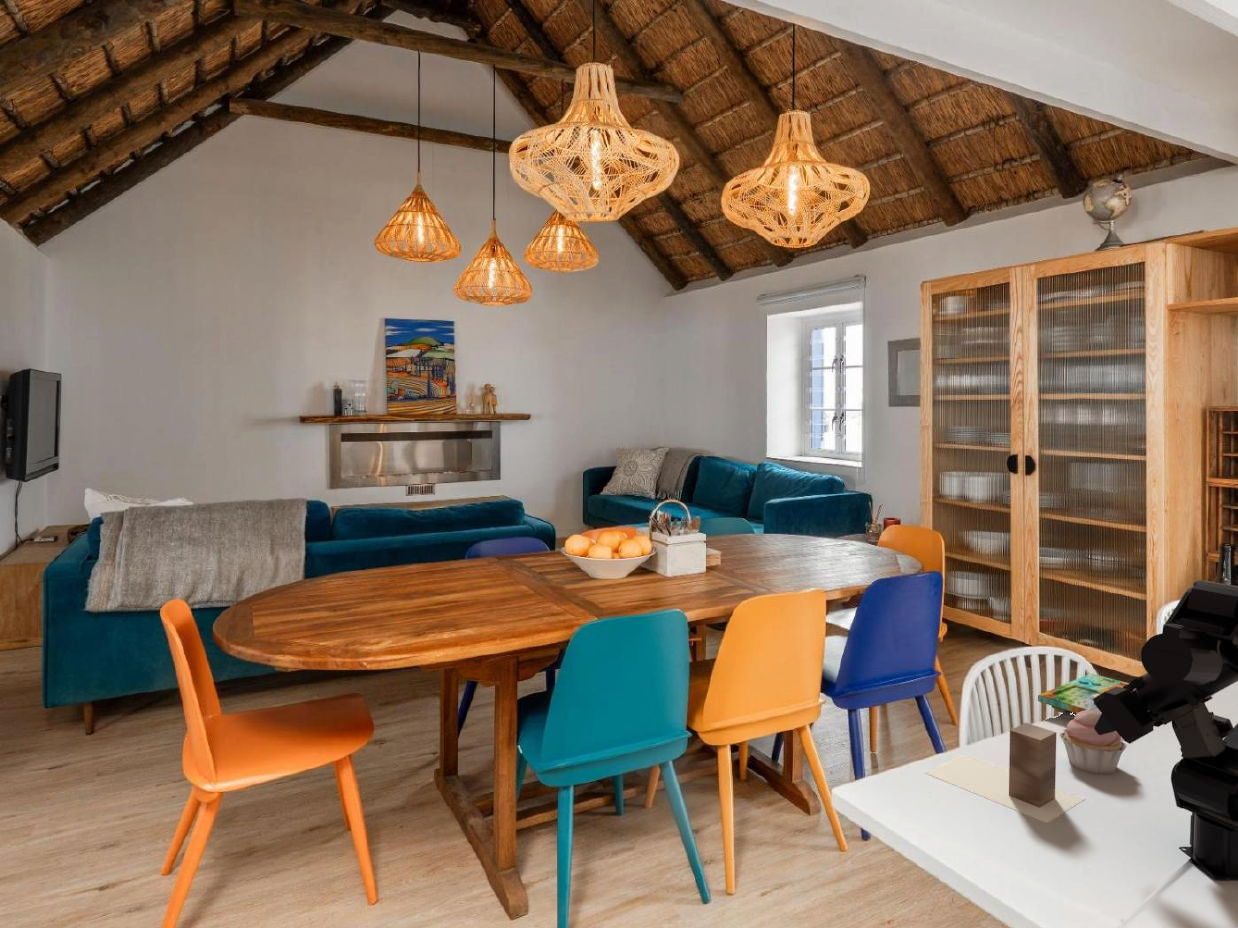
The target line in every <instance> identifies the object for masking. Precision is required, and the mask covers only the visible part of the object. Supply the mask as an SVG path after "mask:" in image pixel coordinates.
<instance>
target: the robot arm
mask: <svg viewBox="0 0 1238 928" xmlns="http://www.w3.org/2000/svg"><path fill="white" fill-rule="evenodd" d="M1161 632H1162V633H1158V634H1155V635H1153V636H1151V637H1149V638H1148V639H1147V640H1146V642H1145V643H1144V645H1143V646H1142V648H1141V650H1140V659H1141V663H1142V666H1143V668H1144V670H1145V671H1146V673H1144V674H1142V675H1141V676H1138V677H1136V678H1134V679H1133V680H1131V681H1130V682H1129V684H1127V685H1125V686H1123V688H1120V687H1114V688H1112V689H1109V690H1107V691H1105V692H1103V693H1102V694H1100V695H1098V696H1097V697H1095V698H1094V699H1093V701H1094V704H1095V705H1096V707H1097V708H1098V709H1099V710H1100V712H1101V713H1102V714H1101V715H1100V717H1099V719H1098V721H1097V723H1096V725H1095V727H1094V729H1095V731H1096V732H1097V733H1098V734H1099V735H1103V734H1107V733H1110V732H1114V731H1117V733H1118V734H1119V735H1120V738H1122V739H1123V742H1124V743H1126V744H1129V745H1130V744H1132V743H1134V742H1136V741H1137V740H1139V739H1141V738H1143V737H1145V736H1147V735H1148V734H1150V733H1152V732H1154V730H1155V729H1154V727H1157V728H1159V727H1161V726H1163V725H1164V726H1165V725H1168V724H1169V723H1171V726H1172V730H1173V732H1174V734H1175V737H1176V739H1177V741H1178V743H1179V745H1180V748H1179V749H1180V752H1181V759H1180V760H1179V761H1177V762H1176V763H1175V764H1174V766H1173V767H1172V769H1171V773H1170V774H1171V775H1170V782H1171V787H1172V791H1173V796H1174V801H1175V805H1176V807H1177V808H1179V809H1184V810H1185V811H1188V812H1191V815H1190V831H1189V846H1179V848H1178V850H1180V851H1181V852H1182V853H1184V855H1187V857H1189V859H1188V860H1189V861H1191V863H1193V864H1194V865H1196V866H1197V867H1198V868H1199V869H1200V870H1202V871H1203V872H1205V873H1206V874H1207V875H1209V876H1210V878H1212V879H1214V880H1221V881H1222V880H1238V722H1237V724H1236V725H1234V726H1233V723H1232V722H1231V720H1230V718H1226V717H1223V716H1219V715H1216V714H1215V713H1214V712H1213V711H1209V709H1208V707H1207V705H1206V703H1207V702H1209V701H1210V700H1212V699H1213V696H1214V695H1215V694H1218V693H1219V692H1221V691H1223V690H1224V689H1226V688H1228V687H1230V686H1231V685H1234V684H1235V683H1237V682H1238V586H1237V585H1232V584H1228V583H1222V582H1216V581H1210V580H1203V579H1199V580H1196V581H1195V582H1193V584H1192V587H1191V586H1190V588H1188V589H1187V590H1186V591H1185V592H1184V594H1183V595H1182V596H1181V599H1180V600H1179V602H1178V603H1177V605H1176V606H1175V607H1174V610H1173V611H1172V612H1171V614H1170V615H1169V618H1168V619H1167V620H1166V622H1165V623H1164V624H1163V627H1162V631H1161Z"/></svg>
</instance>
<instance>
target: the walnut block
mask: <svg viewBox="0 0 1238 928" xmlns="http://www.w3.org/2000/svg"><path fill="white" fill-rule="evenodd" d="M1008 755H1009V757H1008V759H1009V762H1008V763H1009V764H1008V766H1009V768H1008V771H1009V796H1011V797H1013V798H1016V799H1018V800H1021V801H1024V802H1026V803H1029V804H1031V805H1034V806H1036V807H1039V808H1040V807H1042V806H1043V805H1045V804H1047V803H1048V802H1050V801H1052V800H1053V799H1055V788H1056V772H1057V771H1056V770H1057V769H1056V766H1057V764H1056V763H1057V762H1056V761H1057V732H1056V731H1053V730H1051V729H1047V728H1044V727H1041V726H1038V725H1035V724H1031V723H1029V722H1024V723H1022V724H1020V725H1018V726H1016V727H1014V728H1011V729H1010V730H1009V754H1008Z"/></svg>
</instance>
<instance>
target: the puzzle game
mask: <svg viewBox="0 0 1238 928" xmlns="http://www.w3.org/2000/svg"><path fill="white" fill-rule="evenodd" d="M1129 683H1130V682H1129ZM1129 683H1128V682H1124V681H1122V680H1118V679H1114V678H1110V677H1106V676H1104V675H1103V676H1101V675H1098V674H1094V673H1088V674H1086V675H1084V676H1081V677H1079V678H1076V679H1074V680H1071V681H1069V682H1066V683H1065V684H1062V685H1060V686H1057V687H1055V688H1053V689H1051V690H1047V691H1044V692H1043V693H1040V694H1038V695H1037V702H1039V703H1042V704H1045V705H1048V706H1051V708H1052V709H1053V710H1054V711H1056V712H1059V713H1062V714H1065V715H1068V714H1070V713H1072V712H1073V714H1075V715H1076V714H1077V713H1079V712H1082V711H1085V710H1088V709H1090V708H1091V707H1094V708H1096V709H1097V710H1098V711H1099V712H1100V710H1099V709H1098V708H1097V707H1096V705H1095V704H1094V701H1093V699H1094V698H1095V697H1097V696H1098V695H1100V694H1102V693H1103V692H1105V691H1107V690H1109V689H1112V688H1114V687H1120V688H1123V686H1125V685H1127V684H1129ZM1100 713H1101V712H1100ZM1073 714H1072V715H1073Z"/></svg>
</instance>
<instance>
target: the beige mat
mask: <svg viewBox="0 0 1238 928" xmlns="http://www.w3.org/2000/svg"><path fill="white" fill-rule="evenodd" d="M925 775H929V776H931V777H933V778H935V779H938V780H941V781H943V782H945V783H948V784H951V785H952V786H956V787H957V788H960V789H963V790H965V791H968V792H969V793H970V792H971V793H972V794H974V795H977V796H980V797H982V798H985V799H988V800H990V801H992V802H994V803H997V804H999V805H1002V806H1004V807H1007V808H1008V809H1012V810H1014V811H1017V812H1019V813H1021V814H1024V815H1026V816H1028V817H1031V818H1034V819H1036V820H1038V821H1041V822H1043V823H1046V824H1049V823H1050V822H1052V821H1053V820H1055V819H1057V818H1058V817H1060V816H1061V815H1064V814H1065V813H1066V812H1068V811H1069V810H1071V809H1072V808H1075V807H1076V806H1077V805H1079V804H1080V803H1081V802H1083V801H1084V800H1086V798H1083V797H1081V796H1078V795H1075V794H1072V793H1070V792H1067V791H1065V790H1062V789H1059V788H1057V787H1055V799H1053V800H1052V801H1050V802H1048V803H1047V804H1045V805H1043V806H1042V807H1040V808H1039V807H1036V806H1034V805H1031V804H1029V803H1026V802H1024V801H1021V800H1018V799H1016V798H1013V797H1011V796H1009V769H1005V768H1003V767H1000V766H997V765H995V764H992V763H989V762H986V761H984V760H982V759H979V758H975V757H973V756H970V755H968V754H965V753H964V754H963V753H962V754H961V755H959V756H957V757H955V758H953V759H951V760H949V761H947V762H945V763H942V764H941V765H938V766H935V768H931V769H930V770H928V771H926V772H925Z"/></svg>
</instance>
